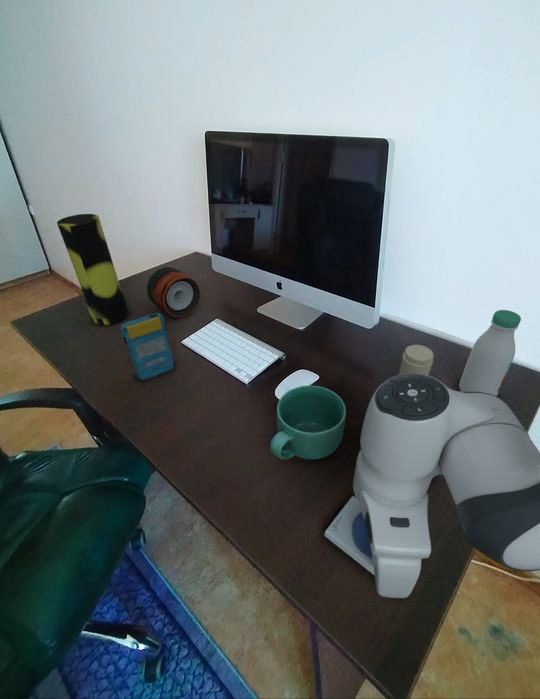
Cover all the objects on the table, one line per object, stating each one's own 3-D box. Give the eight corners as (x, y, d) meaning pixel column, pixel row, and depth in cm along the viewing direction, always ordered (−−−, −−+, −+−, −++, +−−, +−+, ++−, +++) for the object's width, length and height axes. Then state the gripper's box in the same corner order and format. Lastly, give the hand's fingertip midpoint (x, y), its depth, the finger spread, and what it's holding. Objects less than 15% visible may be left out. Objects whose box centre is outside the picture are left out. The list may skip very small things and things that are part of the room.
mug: (309, 409, 80) (310, 375, 75) (355, 442, 72) (360, 408, 67) (249, 451, 72) (246, 417, 66) (294, 494, 64) (294, 460, 58)
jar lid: (362, 506, 59) (363, 501, 58) (405, 529, 56) (406, 523, 55) (344, 542, 55) (344, 537, 54) (388, 569, 52) (390, 564, 51)
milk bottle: (487, 409, 78) (522, 330, 67) (451, 391, 83) (478, 315, 71) (501, 391, 82) (537, 314, 71) (467, 375, 87) (495, 301, 75)
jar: (429, 395, 82) (440, 359, 76) (403, 400, 81) (412, 363, 75) (415, 378, 87) (425, 342, 81) (391, 381, 86) (398, 346, 80)
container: (85, 319, 114) (47, 221, 97) (116, 305, 121) (85, 211, 103) (105, 330, 109) (69, 228, 91) (136, 314, 116) (107, 217, 98)
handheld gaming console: (172, 361, 96) (160, 311, 87) (178, 369, 93) (166, 318, 84) (135, 374, 92) (118, 324, 83) (140, 384, 89) (123, 332, 80)
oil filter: (167, 324, 110) (158, 284, 103) (148, 309, 118) (138, 272, 110) (203, 308, 117) (197, 270, 109) (183, 295, 125) (176, 259, 117)
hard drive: (324, 531, 57) (399, 590, 50) (352, 494, 62) (425, 544, 55) (324, 536, 58) (397, 595, 51) (352, 500, 63) (423, 549, 56)
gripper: (355, 421, 56) (347, 476, 64) (375, 564, 40) (361, 613, 48) (398, 423, 55) (384, 478, 64) (436, 568, 39) (411, 617, 47)
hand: (374, 537), depth 56 cm, fingers closed on jar lid, 7 cm apart
